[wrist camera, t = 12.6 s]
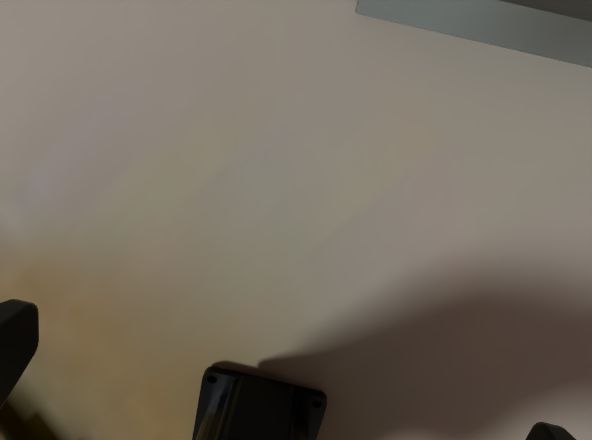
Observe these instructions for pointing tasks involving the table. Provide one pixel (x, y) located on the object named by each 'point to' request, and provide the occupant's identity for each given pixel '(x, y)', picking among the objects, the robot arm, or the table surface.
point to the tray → (500, 23)
